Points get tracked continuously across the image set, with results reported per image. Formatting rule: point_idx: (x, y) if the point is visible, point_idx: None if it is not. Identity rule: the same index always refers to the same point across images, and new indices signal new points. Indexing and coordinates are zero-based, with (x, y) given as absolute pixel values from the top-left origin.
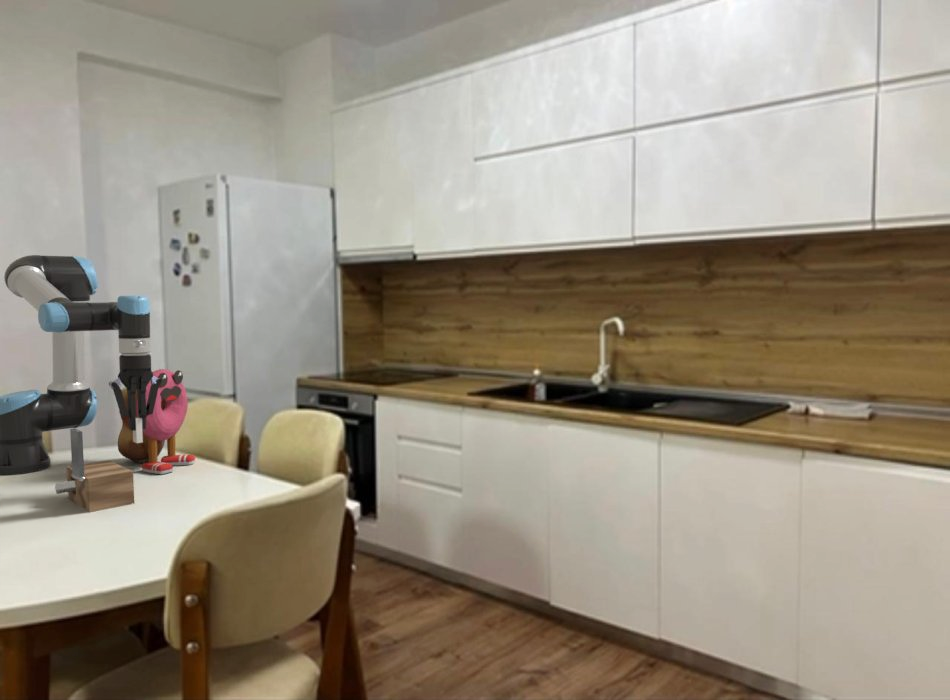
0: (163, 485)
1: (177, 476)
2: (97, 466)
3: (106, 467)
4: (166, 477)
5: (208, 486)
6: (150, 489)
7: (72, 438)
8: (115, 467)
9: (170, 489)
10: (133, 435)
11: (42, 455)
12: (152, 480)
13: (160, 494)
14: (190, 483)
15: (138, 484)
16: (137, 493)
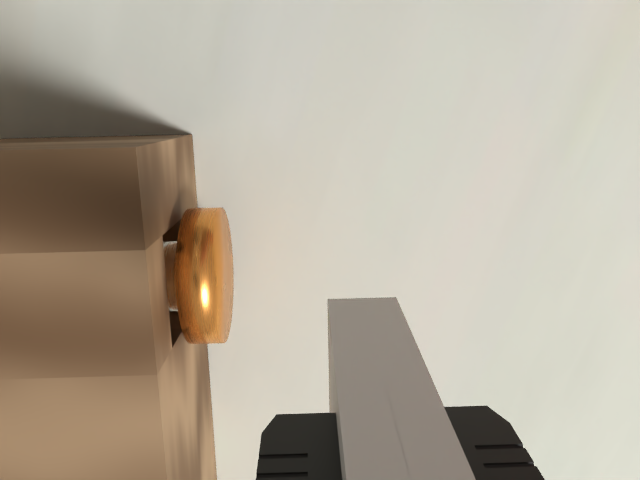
0: (460, 259)
1: (622, 89)
2: (6, 335)
3: (60, 421)
4: (562, 61)
5: (615, 456)
6: (371, 296)
7: None
8: (116, 467)
9: (450, 375)
10: (331, 346)
11: None
12: (465, 76)
13: None
14: (585, 327)
15: (363, 119)
16: (288, 331)
